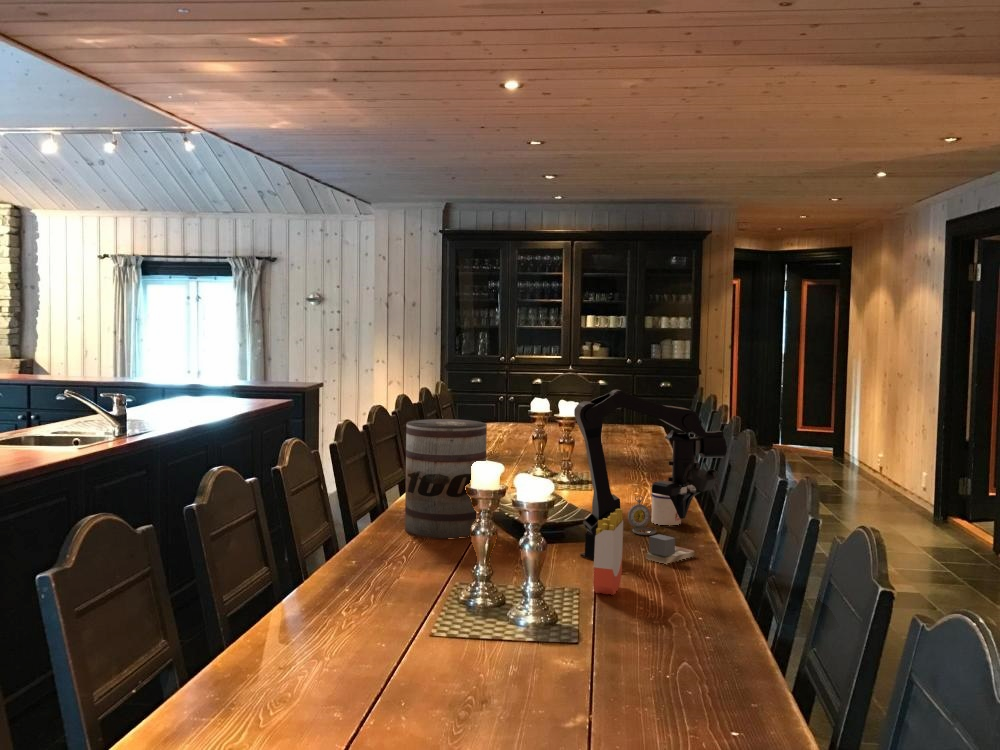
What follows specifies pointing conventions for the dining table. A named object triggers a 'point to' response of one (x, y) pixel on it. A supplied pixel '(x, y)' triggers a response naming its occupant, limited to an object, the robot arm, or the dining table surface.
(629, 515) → the pocket watch
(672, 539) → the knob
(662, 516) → the teacup with lid
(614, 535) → the french fries container
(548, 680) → the dining table surface
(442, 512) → the barrel
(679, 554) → the cream flat rectangular block
